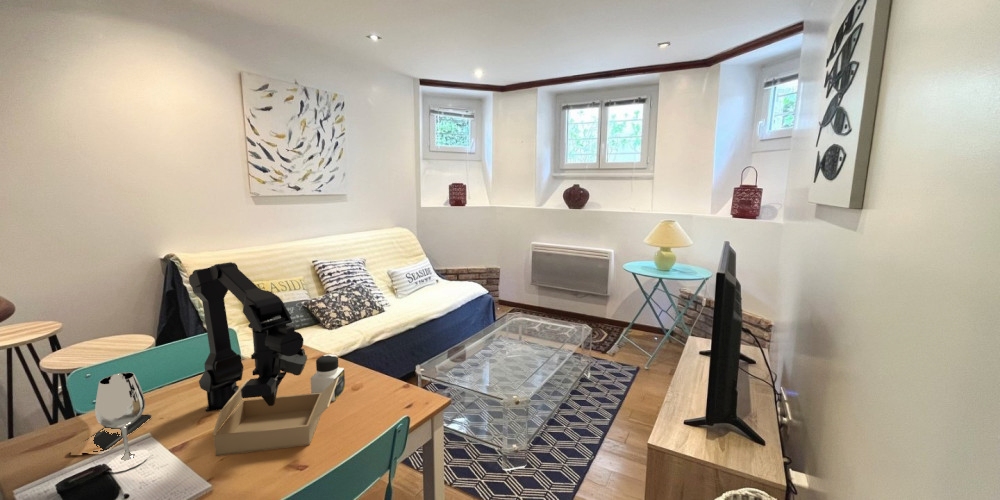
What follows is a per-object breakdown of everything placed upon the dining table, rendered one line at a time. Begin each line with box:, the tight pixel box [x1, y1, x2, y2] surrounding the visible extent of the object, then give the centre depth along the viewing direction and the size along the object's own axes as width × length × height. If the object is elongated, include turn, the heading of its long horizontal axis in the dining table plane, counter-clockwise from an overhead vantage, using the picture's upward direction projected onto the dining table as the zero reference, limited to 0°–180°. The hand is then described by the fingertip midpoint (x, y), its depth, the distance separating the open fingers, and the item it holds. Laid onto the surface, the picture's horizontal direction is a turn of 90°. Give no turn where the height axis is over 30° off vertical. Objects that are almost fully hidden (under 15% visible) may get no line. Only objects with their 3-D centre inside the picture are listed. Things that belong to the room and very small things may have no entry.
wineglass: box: [94, 371, 146, 461], centre depth 86 cm, size 8×8×20 cm
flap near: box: [212, 378, 249, 436], centre depth 96 cm, size 6×15×1 cm
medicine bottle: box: [310, 353, 346, 402], centre depth 116 cm, size 7×7×12 cm
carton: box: [213, 393, 322, 457], centre depth 99 cm, size 20×16×5 cm
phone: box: [84, 414, 152, 452], centre depth 96 cm, size 8×1×15 cm
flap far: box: [309, 377, 339, 425], centre depth 101 cm, size 6×15×1 cm
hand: (271, 405), depth 98 cm, fingers closed
